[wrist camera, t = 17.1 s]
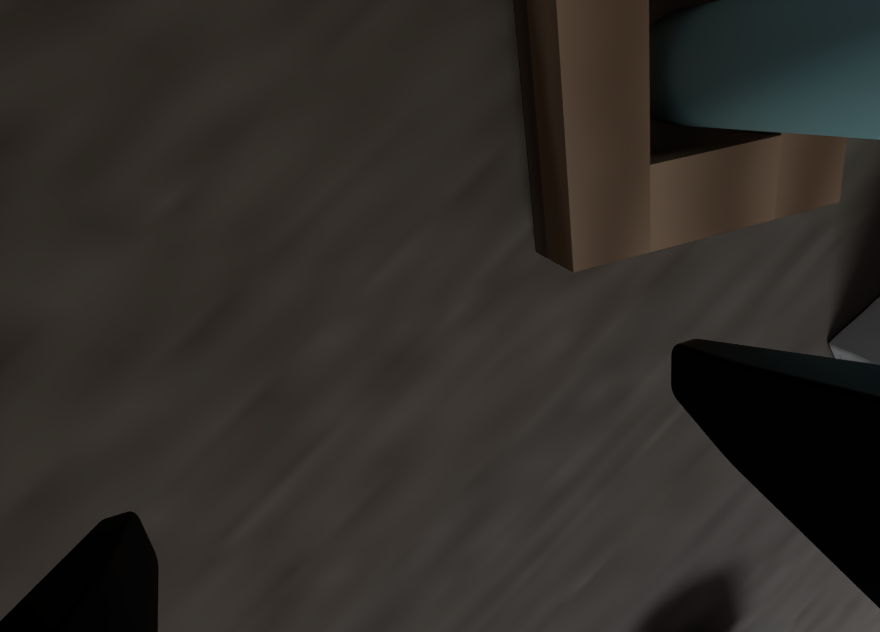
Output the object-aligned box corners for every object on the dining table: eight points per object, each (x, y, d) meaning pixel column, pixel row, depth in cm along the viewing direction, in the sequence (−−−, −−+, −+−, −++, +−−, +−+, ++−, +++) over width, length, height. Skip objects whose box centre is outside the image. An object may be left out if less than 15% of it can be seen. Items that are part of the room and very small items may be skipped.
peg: (635, 133, 22) (1074, 177, 10) (633, 15, 20) (1148, -90, 9) (723, 114, 23) (1220, 136, 11) (728, 0, 21) (1312, -114, 10)
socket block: (536, 252, 23) (573, 272, 21) (504, -101, 19) (547, -134, 16) (778, 191, 26) (839, 202, 23) (804, -133, 21) (884, -165, 19)
